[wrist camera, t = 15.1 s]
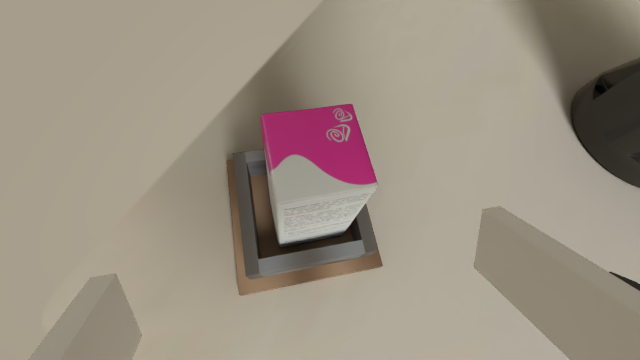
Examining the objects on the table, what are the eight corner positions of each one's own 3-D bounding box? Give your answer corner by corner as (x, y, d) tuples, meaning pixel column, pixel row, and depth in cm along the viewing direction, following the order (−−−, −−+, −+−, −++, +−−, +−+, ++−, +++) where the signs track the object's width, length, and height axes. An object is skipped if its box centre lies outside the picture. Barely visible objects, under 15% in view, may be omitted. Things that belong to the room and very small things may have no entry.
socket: (348, 148, 31) (355, 127, 27) (379, 267, 27) (393, 260, 23) (228, 165, 29) (219, 144, 25) (241, 295, 25) (232, 293, 21)
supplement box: (345, 236, 26) (381, 188, 16) (278, 249, 25) (269, 208, 15) (330, 176, 29) (353, 99, 18) (267, 186, 28) (253, 112, 17)
